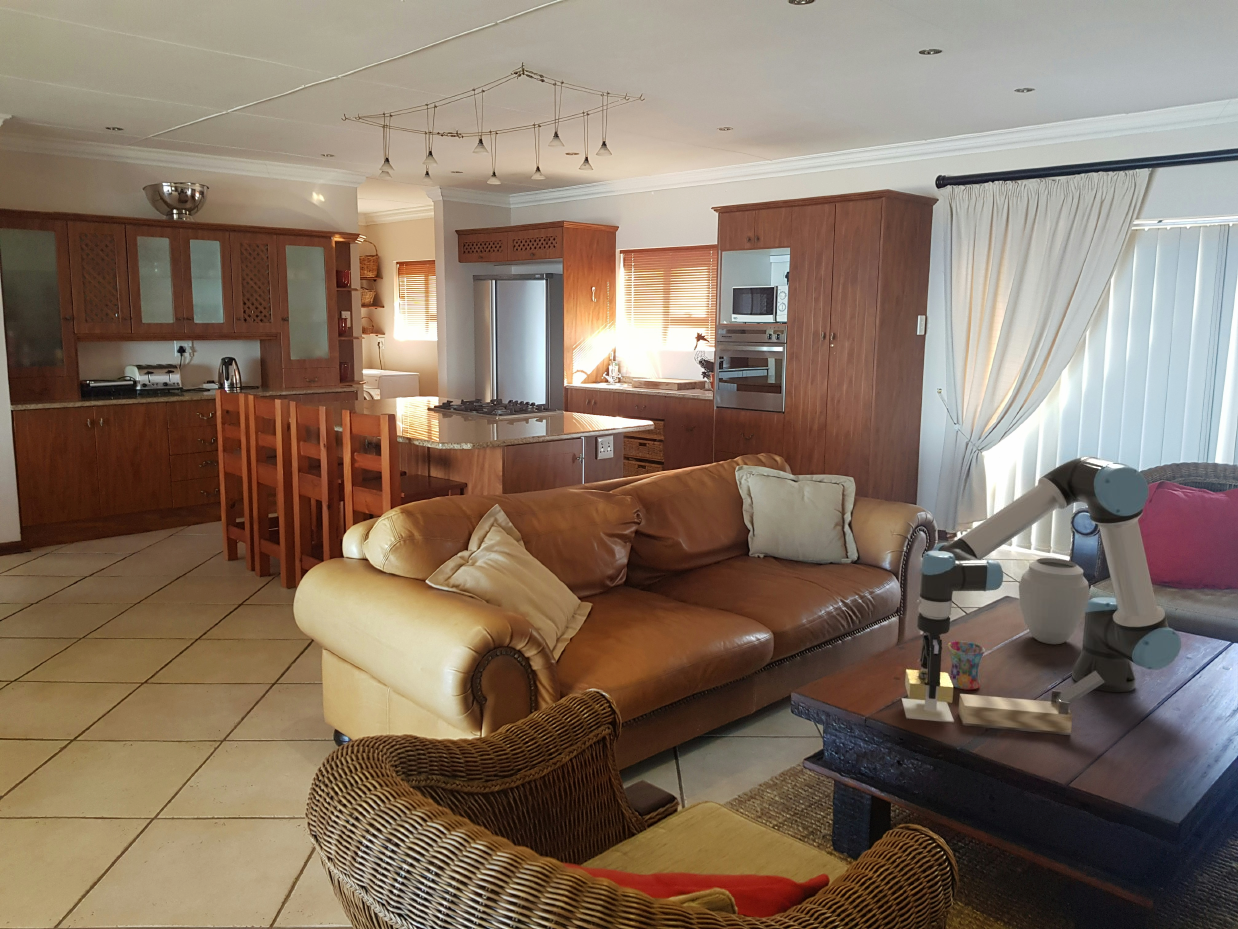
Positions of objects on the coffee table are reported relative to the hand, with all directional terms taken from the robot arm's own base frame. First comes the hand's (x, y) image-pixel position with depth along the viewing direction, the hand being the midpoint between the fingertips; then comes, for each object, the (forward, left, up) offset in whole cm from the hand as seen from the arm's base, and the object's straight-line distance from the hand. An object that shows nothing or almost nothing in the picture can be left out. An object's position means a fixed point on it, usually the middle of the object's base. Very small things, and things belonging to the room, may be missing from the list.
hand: (927, 701), depth 227 cm
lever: (-30, +3, +4) cm, 30 cm away
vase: (-44, -61, -3) cm, 75 cm away
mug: (-13, -20, -3) cm, 24 cm away
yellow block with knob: (0, 0, +2) cm, 2 cm away
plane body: (-20, +3, -2) cm, 20 cm away
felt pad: (0, 0, -2) cm, 2 cm away
